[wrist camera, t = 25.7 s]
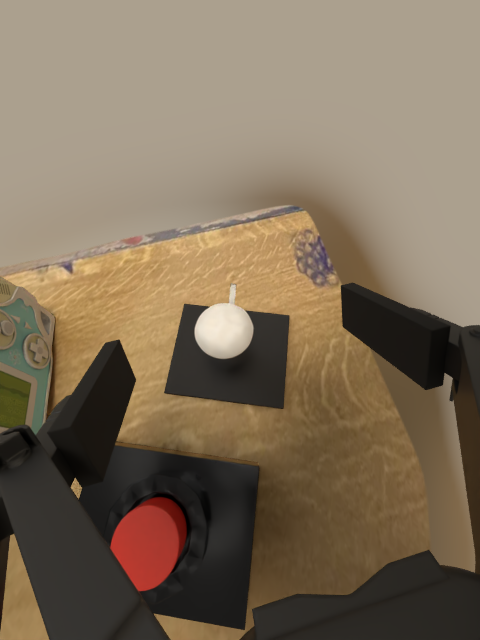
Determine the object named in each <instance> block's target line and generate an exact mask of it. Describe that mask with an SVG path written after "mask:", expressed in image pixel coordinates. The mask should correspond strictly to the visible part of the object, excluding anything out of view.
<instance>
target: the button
mask: <svg viewBox="0 0 480 640" xmlns="http://www.w3.org/2000/svg"><path fill="white" fill-rule="evenodd" d="M186 537H187V524H186V519H185V516H184V514H183V512H182V510H181V508H180V507H179V506H178V505H177V504H176V503H175V502H174V501H172V500H171V499H168V498H165V497H154V498H151V499H148V500H146V501H144V502H143V503H142V504H140V505H139V506H137V507H136V508H135V509H133V510H132V511H130V512H129V513H128V514H127V515H126V516H125V517H124V518H123V519H122V520H121V521H120V523H119V524H118V526H117V528H116V530H115V532H114V535H113V538H112V541H111V547H110V549H111V550H112V552H113V553H114V555H115V556H116V558H117V559H118V561H119V562H120V564H121V565H122V567H123V568H124V570H125V571H126V573H127V574H128V576H129V577H130V579H131V581H132V582H133V584H134V585H135V587H136V588H137V590H138V591H146V590H150V589H152V588H155V587H156V586H158V585H160V584H161V583H162V582H163V581H164V580H165V579H166V578H167V577H168V576H169V574H170V573H171V571H172V570H173V568H174V566H175V564H176V562H177V560H178V558H179V556H180V554H181V552H182V550H183V548H184V545H185V542H186Z"/></svg>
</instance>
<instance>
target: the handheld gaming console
mask: <svg viewBox="0 0 480 640" xmlns="http://www.w3.org/2000/svg"><path fill="white" fill-rule="evenodd" d="M54 325H55V317H54V316H53V315H52V314H51V313H50V312H48V311H47V310H46V309H45V308H43V307H42V306H41V305H40V304H38V303H37V300H36V298H35V297H34V296H33V295H32V294H30V293H29V292H28V291H27V290H26V289H24V288H23V287H17V286H15V285H14V284H12V283H10V282H9V281H7V280H5V279H4V278H2V277H0V433H2V432H3V431H5V430H8V429H10V428H12V427H15V426H18V425H28V426H30V428H31V429H32V431H33V432H34V434H35V435H36V434H37V433H38V431H39V430H40V428H41V427H42V425H43V424H44V423H45V422H46V414H47V406H48V398H49V389H50V381H51V373H52V363H53V358H52V351H51V349H52V341H53V333H54Z"/></svg>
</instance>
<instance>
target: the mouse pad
mask: <svg viewBox="0 0 480 640" xmlns="http://www.w3.org/2000/svg"><path fill="white" fill-rule="evenodd" d="M208 308H209V307H208V306H199V305H190V304H184V308H183V312H182V317H181V321H180V326H179V330H178V334H177V339H176V343H175V348H174V352H173V356H172V361H171V365H170V370H169V374H168V379H167V383H166V387H165V392H164V393H167V394H175V395H182V396H190V397H198V398H205V399H213V400H220V401H228V402H235V403H243V404H251V405H258V406H266V407H273V408H281V409H283V408H284V392H285V377H286V361H287V345H288V330H289V315H280V314H271V313H262V312H253V311H246V312H247V314H248V315H249V317H250V319H251V321H252V324H253V336H252V340H251V342H250V344H249V347H248V349H247V351H246V354H245V357H244V361H243V364H242V365H241V366H239V367H238V368H237V369H236V370H231V371H224V370H223V369H221V368H220V367H218V366H217V365H216V364H215V363H214V362H213V361H212V359H211V358H210V357H209V356H208V355H207V354H206V353H205V352H204V351H203V350H202V349H201V348H200V346H199V345H198V343H197V341H196V339H195V326H196V323H197V320H198V318H199V317H200V315H201V314H202V313H203V312H204V311H205V310H206V309H208Z"/></svg>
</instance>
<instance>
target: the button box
mask: <svg viewBox="0 0 480 640" xmlns="http://www.w3.org/2000/svg"><path fill="white" fill-rule="evenodd" d="M258 478H259V465H258V462H254V461H247V460H240V459H233V458H226V457H219V456H212V455H205V454H198V453H191V452H184V451H178V450H171V449H164V448H157V447H150V446H143V445H136V444H129V443H122V442H116V443H115V446H114V449H113V452H112V455H111V458H110V461H109V464H108V467H107V471H106V474H105V477H104V480H103V482H100V483H96V484H93V485H89V486H86V487H83V488H82V491H81V494H80V498H79V501H80V503H81V504H82V506H83V507H84V509H85V510H86V512H87V513H88V515H89V516H90V518H91V520H92V521H93V523H94V524H95V526H96V527H97V529H98V530H99V532H100V533H101V535H102V536H103V538H104V539H105V541H106V542H107V544H108V545H109V547H111V541H112V538H113V535H114V532H115V530H116V528H117V526H118V524H119V523H120V521H121V520H122V519H123V518H124V517H125V516H126V515H127V514H128V513H129V512H130V511H132V510H133V509H135V508H136V507H137V506H139V505H140V504H142V503H143V502H144V501H146V500H148V499H151V498H154V497H165V498H168V499H171V500H172V501H174V502H175V503H176V504H177V505H178V506H179V507H180V508H181V510H182V512H183V514H184V516H185V519H186V524H187V537H186V542H185V545H184V548H183V550H182V552H181V554H180V556H179V558H178V560H177V562H176V564H175V566H174V568H173V570H172V571H171V573H170V574H169V576H168V577H167V578H166V579H165V580H164V581H163V582H162V583H161V584H160V585H158V586H156V587H155V588H152V589H150V590H146V591H139V593H140V594H141V596H142V597H143V599H144V600H145V602H146V603H147V605H148V606H149V608H150V609H151V611H152V613H154V614H160V615H165V616H171V617H176V618H182V619H187V620H193V621H198V622H204V623H209V624H214V625H220V626H225V627H231V628H236V629H242V630H245V624H246V612H247V601H248V590H249V579H250V567H251V556H252V545H253V534H254V523H255V511H256V500H257V489H258Z"/></svg>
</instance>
